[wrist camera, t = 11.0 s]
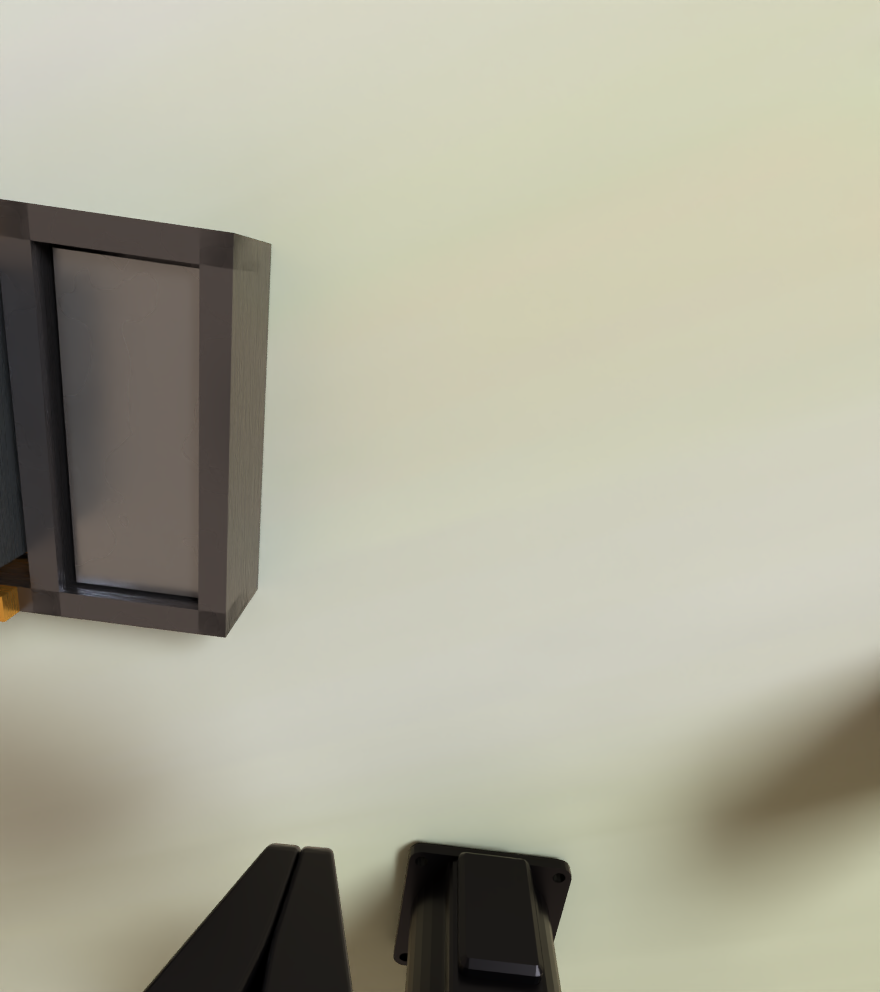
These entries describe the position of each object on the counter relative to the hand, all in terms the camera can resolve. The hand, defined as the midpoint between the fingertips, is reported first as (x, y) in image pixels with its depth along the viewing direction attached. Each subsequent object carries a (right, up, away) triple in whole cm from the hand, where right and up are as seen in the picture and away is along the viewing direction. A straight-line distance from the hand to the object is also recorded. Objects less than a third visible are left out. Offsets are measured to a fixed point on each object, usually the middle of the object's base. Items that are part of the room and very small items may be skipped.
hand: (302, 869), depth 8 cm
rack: (-11, +8, +10) cm, 17 cm away
